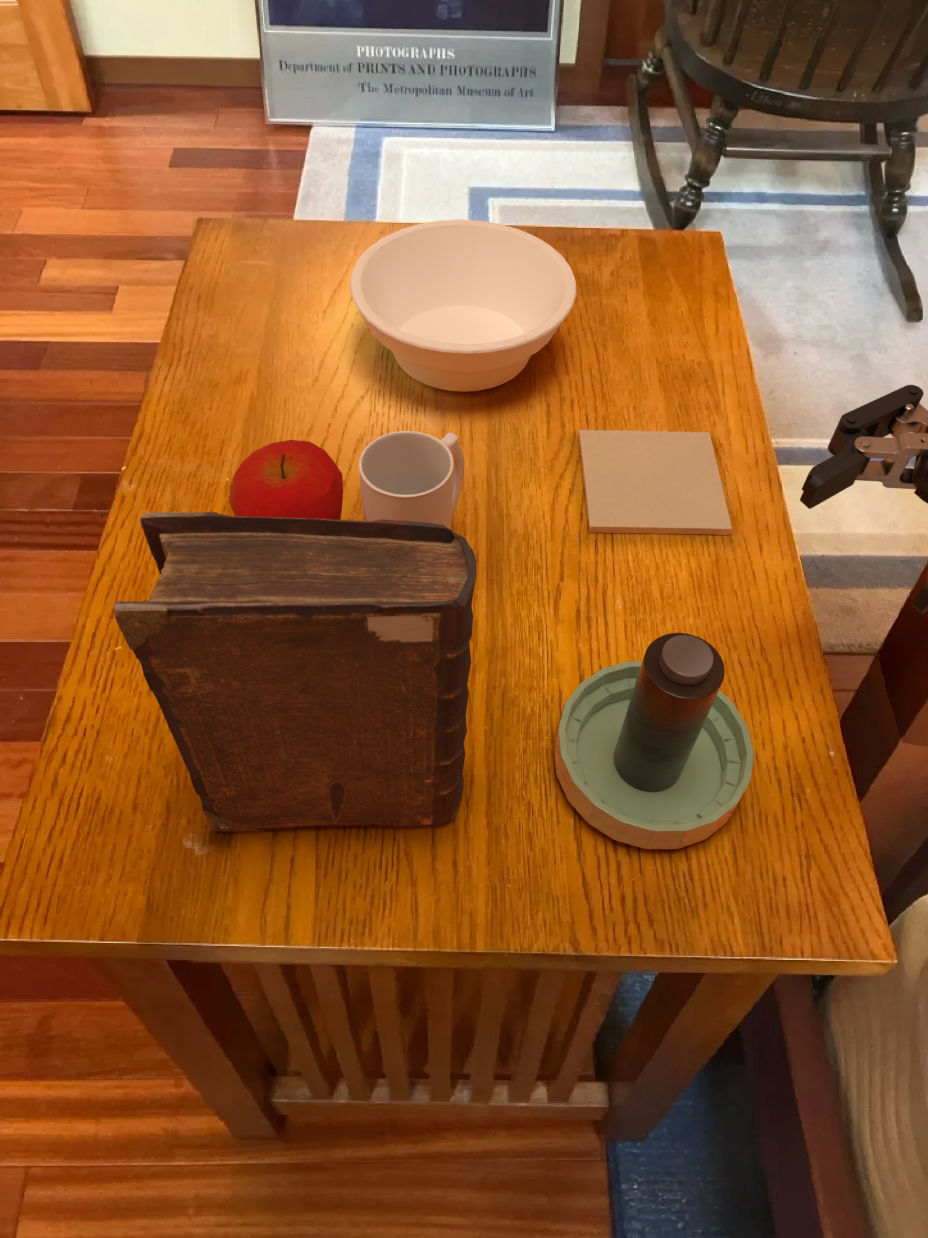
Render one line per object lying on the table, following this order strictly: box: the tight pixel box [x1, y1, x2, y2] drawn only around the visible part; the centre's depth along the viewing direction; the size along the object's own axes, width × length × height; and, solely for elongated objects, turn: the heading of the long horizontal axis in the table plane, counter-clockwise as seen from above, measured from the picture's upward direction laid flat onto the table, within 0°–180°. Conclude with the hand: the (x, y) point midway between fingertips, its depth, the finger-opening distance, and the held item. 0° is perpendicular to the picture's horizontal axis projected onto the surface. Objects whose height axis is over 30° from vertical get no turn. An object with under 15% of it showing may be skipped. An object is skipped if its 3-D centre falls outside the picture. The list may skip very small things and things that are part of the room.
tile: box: [577, 429, 733, 536], centre depth 82 cm, size 12×12×1 cm
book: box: [113, 511, 477, 832], centre depth 53 cm, size 17×7×25 cm, turn 85°
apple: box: [228, 439, 344, 520], centre depth 71 cm, size 9×8×12 cm
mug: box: [358, 430, 465, 530], centre depth 71 cm, size 10×7×12 cm, turn 142°
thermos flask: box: [614, 632, 726, 792], centre depth 60 cm, size 5×5×13 cm
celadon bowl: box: [553, 660, 755, 850], centre depth 64 cm, size 13×13×4 cm
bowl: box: [349, 219, 577, 392], centre depth 89 cm, size 21×21×8 cm
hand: (862, 546), depth 51 cm, fingers open, 8 cm apart
